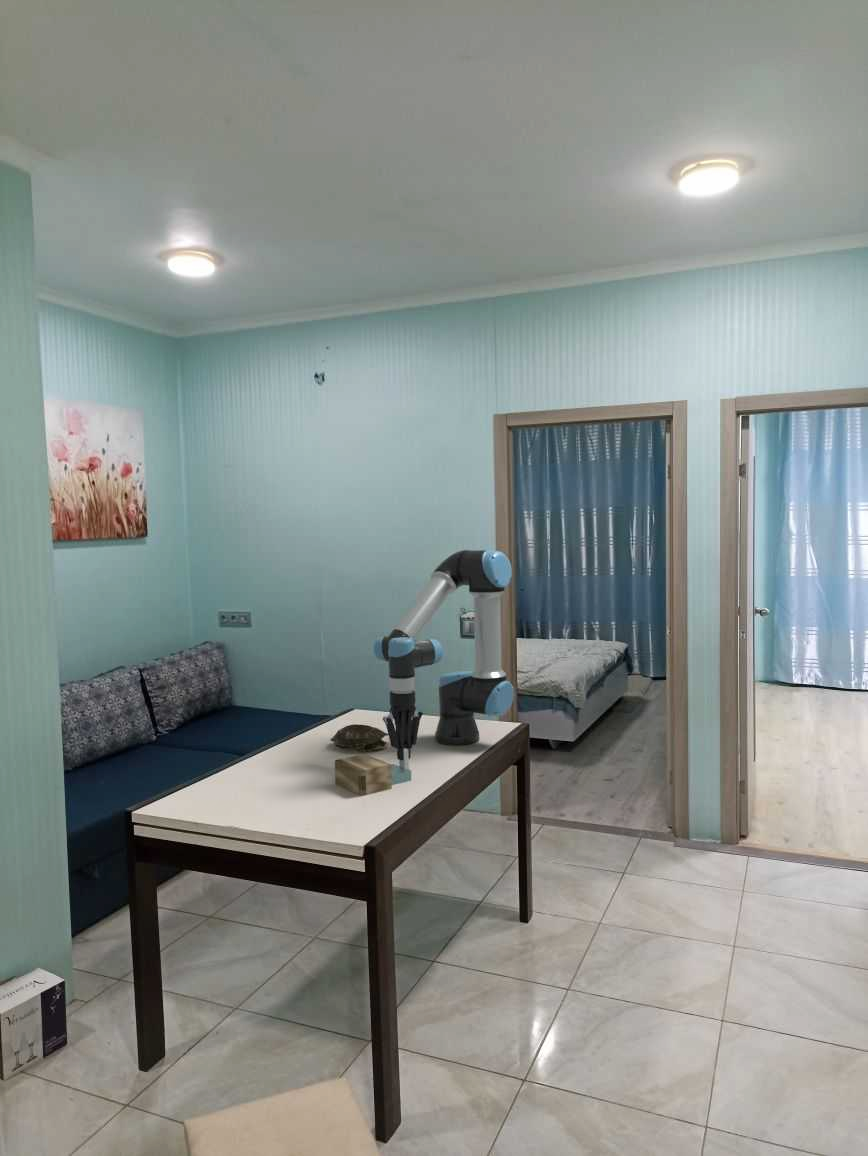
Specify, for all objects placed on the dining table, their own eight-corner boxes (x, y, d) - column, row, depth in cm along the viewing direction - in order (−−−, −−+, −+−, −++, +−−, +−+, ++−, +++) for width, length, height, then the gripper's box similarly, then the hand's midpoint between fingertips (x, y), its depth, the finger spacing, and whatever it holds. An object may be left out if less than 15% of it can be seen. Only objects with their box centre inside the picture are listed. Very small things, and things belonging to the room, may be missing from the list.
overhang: (364, 777, 253) (364, 753, 253) (391, 788, 242) (391, 764, 242) (335, 783, 247) (334, 760, 247) (361, 796, 236) (361, 771, 236)
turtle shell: (346, 721, 299) (394, 716, 289) (350, 747, 299) (399, 743, 289) (318, 731, 285) (368, 726, 275) (323, 758, 284) (373, 754, 275)
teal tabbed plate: (393, 773, 257) (393, 763, 256) (411, 780, 249) (411, 770, 249) (353, 783, 248) (353, 772, 248) (370, 790, 241) (370, 780, 241)
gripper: (412, 685, 259) (414, 763, 260) (376, 692, 251) (378, 771, 252) (427, 689, 253) (429, 768, 254) (391, 696, 245) (393, 777, 246)
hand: (404, 769), depth 253 cm, fingers closed
